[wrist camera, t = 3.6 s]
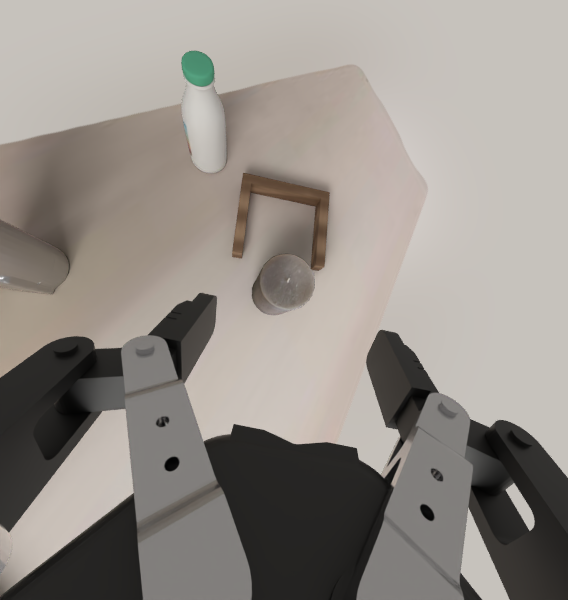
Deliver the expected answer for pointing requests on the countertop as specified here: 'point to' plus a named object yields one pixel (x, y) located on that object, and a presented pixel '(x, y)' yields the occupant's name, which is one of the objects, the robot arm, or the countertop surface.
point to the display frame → (291, 194)
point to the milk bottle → (203, 114)
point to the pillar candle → (283, 285)
